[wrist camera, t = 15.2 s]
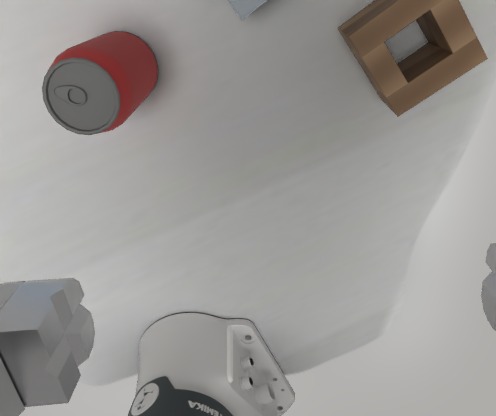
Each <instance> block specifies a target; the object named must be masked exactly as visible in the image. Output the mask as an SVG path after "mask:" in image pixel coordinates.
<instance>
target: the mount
mask: <svg viewBox="0 0 496 416" xmlns="http://www.w3.org/2000/svg"><path fill="white" fill-rule="evenodd" d="M414 20H417V22H418V24H419V26H420V28H421V29H422V31H423V33H424V35H425V37H426V39H427V41H428V42H429V43H428V44H426V45H425V46H423V47H422V48H420V49H419V50H417V51H416V52H415V53H413V54H412V55H410V56H409V57H407V58H406V59H404V60H403V61H401V62H400V63H398V64H396V62H395V60H394V58H393V57H392V55H391V53H390V51H389V50H388V48H387V46H386V45H385V43H384V42H385V41H386V40H388V39H389V38H390V37H392V36H393V35H395V34H396V33H397V32H399V31H400V30H402V29H403V28H405V27H406V26H407V25H409V24H410V23H412V22H413V21H414ZM338 30H339V31H340V33H341V35H342V36H343V38H344V39H345V41H346V43H347V44H348V46H349V48H350V49H351V51H352V52H353V54H354V56H355V57H356V59H357V61H358V62H359V64H360V65H361V67H362V69H363V70H364V72H365V74H366V75H367V77H368V78H369V80H370V82H371V83H372V85H373V87H374V88H375V90H376V91H377V93H378V95H379V96H380V98H381V99H382V100H383V102H384V103H385V104H386V105H387V106H388V107H389V108H390V109H391V110H392V111H393V112H394V113H395V114H396V115H397V116H400V115H401V114H403V113H404V112H406V111H407V110H409V109H410V108H412V107H414V106H415V105H417V104H418V103H420V102H421V101H423V100H424V99H426V98H427V97H429V96H431V95H432V94H434V93H435V92H437V91H438V90H440V89H441V88H443V87H444V86H446V85H448V84H449V83H451V82H452V81H454V80H455V79H457V78H458V77H460V76H461V75H463V74H465V73H466V72H468V71H469V70H471V69H472V68H474V67H475V66H477V65H478V64H480V63H482V62H483V61H485V60H486V59H488V58H487V56H486V54H485V52H484V50H483V48H482V46H481V44H480V42H479V40H478V38H477V36H476V34H475V32H474V30H473V28H472V26H471V24H470V22H469V20H468V18H467V16H466V14H465V12H464V10H463V8H462V6H461V4H460V2H459V0H375V1H374V2H372V3H371V4H370V5H368V6H367V7H365V8H364V9H363V10H361V11H360V12H359V13H357V14H356V15H355V16H353V17H352V18H351V19H349V20H348V21H347V22H345V23H344V24H343V25H341V26H340V27H338Z"/></svg>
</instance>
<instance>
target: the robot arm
mask: <svg viewBox="0 0 496 416" xmlns="http://www.w3.org/2000/svg"><path fill="white" fill-rule="evenodd" d="M486 263H487V265H488V266H489V268H490V269H491V270H492V272H491V273H490V274H489V275H488V276H487V277H486V278H485V280H484V281H483V284H482V294H481V297H482V303H483V309H484V312H485V315H486V317H487V319H488V321H489V323H490V324H491V326H492V328H493V329H494V330H496V243H493V244H490V246H489V249H488V251H487V256H486ZM83 296H84V293H83V290H82V288H81V285H80V282H79V281H77V280H76V279H74V278H64V279H48V280H32V281H17V282H7V283H2V284H0V416H19V415H20V414H21V412H23V411H24V410H25V407H30V406H41V405H52V404H62V403H68V402H69V400H70V398H71V396H72V393H73V391H74V389H75V387H76V385H77V382H78V380H79V378H80V376H81V375H80V372H79V369H78V366H79V365H80V364H81V363H83V362H84V361H85V360H86V359H88V358H89V355H90V353H91V350H92V348H93V343H94V335H95V331H94V323H93V319H92V316H91V313H90V311H88V310H87V309H86V308H85V307H83V306H82V305H81V304H80V303H81V301H82V298H83ZM246 335H250V336H246ZM294 398H295V393H294V391H293V389H292V387H291V386H290V384H289V382H288V381H287V379H286V377H285V376H284V374H283V372H282V371H281V369H280V367H279V366H278V364H277V362H276V361H275V359H274V358H273V356H272V354H271V353H270V351H269V349H268V348H267V346H266V344H265V343H264V341H263V339H262V338H261V336H260V334H259V333H258V331H257V329H256V328H255V326H254V324H253V323H252V322H251V321H249V320H245V319H228V320H226V319H221V318H217V317H213V316H210V315H206V314H199V313H181V314H175V315H171V316H168V317H165V318H163V319H161V320H159V321H157V322H156V323H154V324H153V325H151V326H150V327H149V328H148V329H147V330H146V332H145V333H144V334H143V336H142V338H141V340H140V343H139V371H138V381H137V389H136V396H135V399H134V401H133V403H132V406H131V408H130V411H129V414H128V416H281V415H282V414H284V413H285V412H286V411H287V410H288V409H289V408H290V406H291V405H292V403H293V401H294Z"/></svg>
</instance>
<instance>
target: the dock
mask: <svg viewBox="0 0 496 416" xmlns="http://www.w3.org/2000/svg"><path fill="white" fill-rule="evenodd" d="M228 1H229V3H230V4H231V5H232V7H233V8H234V10H235V11H236V13H237V14H238V16H239V17H240V18H241V20H243V19H245V18H246V17H247V16H248V15H250V14H251V13H252V12H253V11H255V10H256V9H257V8H258V7H260V6H261V5H262V4H263V3H265V2H266V1H267V0H228Z"/></svg>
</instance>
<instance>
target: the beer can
mask: <svg viewBox="0 0 496 416" xmlns="http://www.w3.org/2000/svg"><path fill="white" fill-rule="evenodd" d="M156 80H157V63H156V60H155V57H154V54H153V53H152V51H151V50H150V48H149V47H148V45H147V44H146V43H144V42H143V41H142V40H141V39H140V38H139V37H137V36H134V35H132V34H130V33H128V32H119V31H114V32H110V33H106V34H103V35H101V36H98V37H96V38H93V39H91V40H88V41H86V42H83V43H81V44H78V45H76V46H73V47H71V48H68V49H67V50H65V51H64V52H63V53H61V54H60V55H58V56H57V57H56V59H55V60H54V62H53V64H52V65H51V67H50V68H49V70H48V72H47V74H46V75H45V77H44V82H43V86H42V91H43V100H44V102H45V105H46V107H47V109H48V112H49V113H50V114H51V116H52V117H53V118H54V119H55V121H56V122H57V123H59V124H60V125H61V126H63V127H64V128H65V129H67V130H69V131H72V132H75V133H77V134H84V135H92V134H97V133H102V132H106V131H110V130H113V129H115V128H116V127H118V126H120V125H121V124H123V123H124V122H125V121H126V119H127V118H128V117H129V116H130V115H131V114H132V113H133V112H134V111H135V109H136V108H137V107H138V106H139V105H140V104H141V103H142V102H143V101H144V99H145V98H146V97H147V96H148V95H149V94H150V92H151V91H152V90H153V88H154V86H155V83H156Z"/></svg>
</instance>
